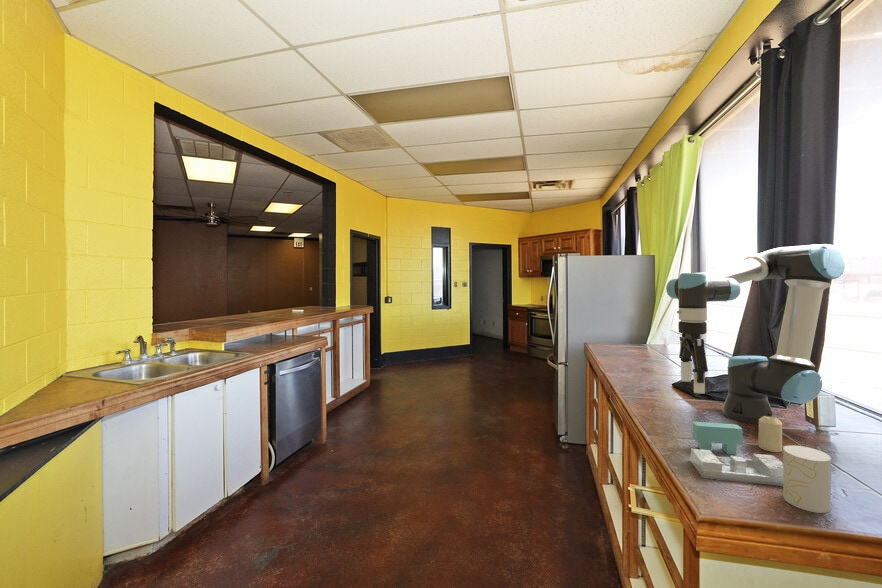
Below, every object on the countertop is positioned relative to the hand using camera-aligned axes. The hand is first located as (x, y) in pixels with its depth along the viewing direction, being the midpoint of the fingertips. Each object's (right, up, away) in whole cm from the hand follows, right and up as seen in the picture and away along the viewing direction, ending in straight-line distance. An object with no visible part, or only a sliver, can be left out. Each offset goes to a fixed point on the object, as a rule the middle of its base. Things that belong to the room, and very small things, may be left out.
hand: (692, 386), depth 123 cm
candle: (+21, -18, -4) cm, 28 cm away
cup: (+6, -20, -32) cm, 38 cm away
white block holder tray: (+1, -19, -18) cm, 26 cm away
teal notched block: (+5, -19, -5) cm, 20 cm away
